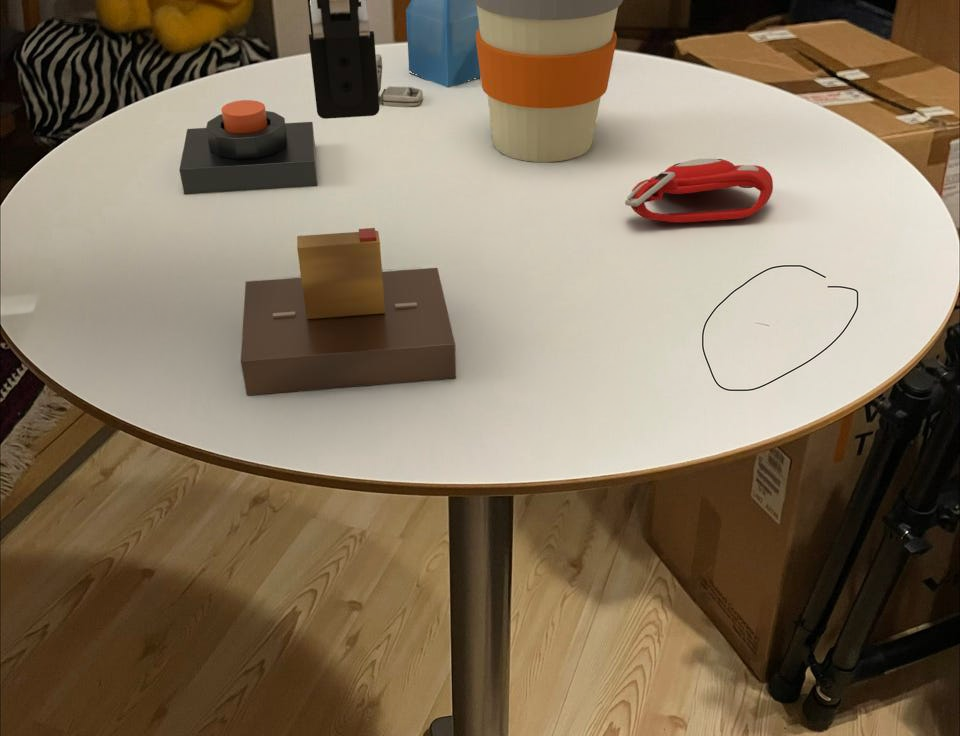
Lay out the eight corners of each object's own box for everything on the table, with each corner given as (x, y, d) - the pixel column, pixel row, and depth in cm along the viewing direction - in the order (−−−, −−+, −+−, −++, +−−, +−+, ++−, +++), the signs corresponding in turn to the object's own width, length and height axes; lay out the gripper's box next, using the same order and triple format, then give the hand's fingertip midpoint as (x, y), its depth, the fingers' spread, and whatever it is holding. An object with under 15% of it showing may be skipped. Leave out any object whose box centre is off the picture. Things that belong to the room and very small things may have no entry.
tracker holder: (661, 157, 89) (780, 147, 84) (664, 210, 91) (781, 203, 86) (613, 177, 79) (745, 166, 75) (618, 236, 81) (747, 229, 76)
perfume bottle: (447, 87, 106) (444, -42, 98) (409, 73, 109) (403, -54, 102) (492, 73, 109) (492, -53, 101) (453, 60, 113) (450, -64, 105)
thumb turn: (306, 319, 66) (296, 243, 63) (306, 307, 67) (296, 231, 64) (385, 313, 67) (379, 238, 63) (383, 301, 68) (377, 226, 64)
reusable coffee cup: (552, 107, 101) (558, -64, 92) (640, 147, 94) (658, -35, 84) (446, 137, 96) (441, -42, 86) (531, 182, 88) (536, -9, 78)
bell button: (223, 137, 87) (220, 116, 85) (225, 121, 89) (222, 101, 88) (267, 134, 87) (264, 114, 86) (268, 119, 90) (265, 98, 89)
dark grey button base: (184, 194, 87) (174, 147, 84) (191, 153, 93) (183, 108, 91) (317, 186, 88) (312, 139, 85) (315, 145, 94) (310, 101, 92)
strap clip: (423, 97, 104) (422, 53, 101) (419, 108, 102) (417, 62, 99) (340, 94, 105) (336, 50, 102) (333, 105, 102) (329, 60, 100)
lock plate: (246, 395, 64) (240, 359, 62) (250, 313, 72) (245, 279, 70) (456, 378, 65) (455, 341, 64) (438, 299, 73) (437, 265, 71)
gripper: (231, -315, 53) (277, 40, 64) (213, -294, 40) (275, 148, 51) (379, -318, 53) (399, 33, 65) (409, -298, 40) (428, 138, 51)
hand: (344, 83), depth 58 cm, fingers open, 9 cm apart
